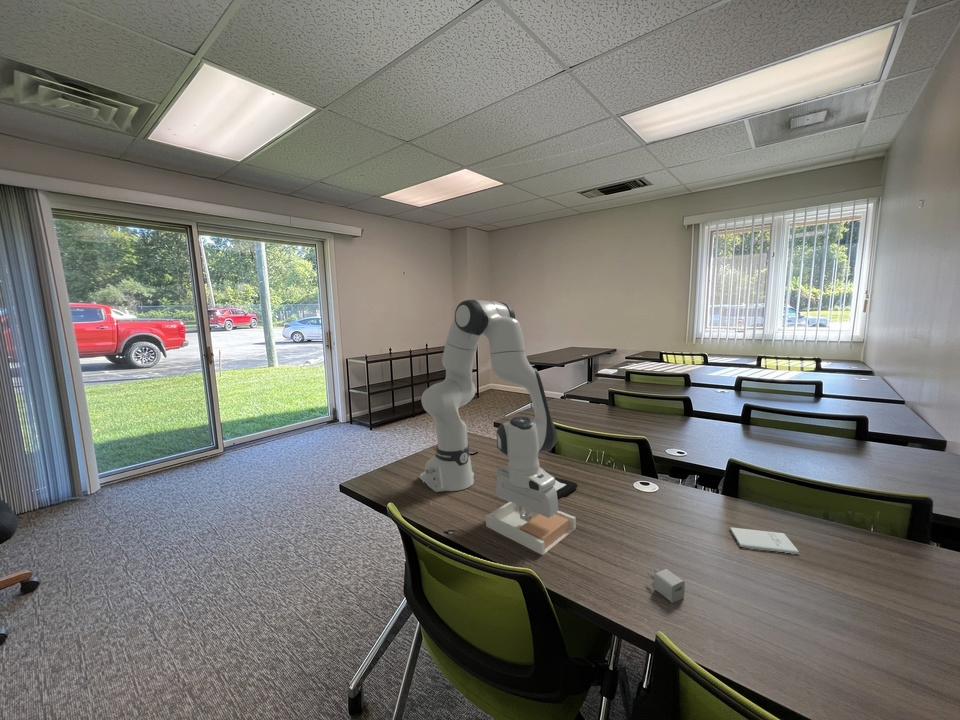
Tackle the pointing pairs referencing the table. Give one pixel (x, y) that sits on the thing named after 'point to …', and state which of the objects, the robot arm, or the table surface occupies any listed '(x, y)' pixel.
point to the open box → (510, 523)
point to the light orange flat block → (546, 528)
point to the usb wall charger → (668, 585)
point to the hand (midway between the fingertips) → (525, 519)
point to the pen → (450, 531)
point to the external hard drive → (763, 540)
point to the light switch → (563, 487)
